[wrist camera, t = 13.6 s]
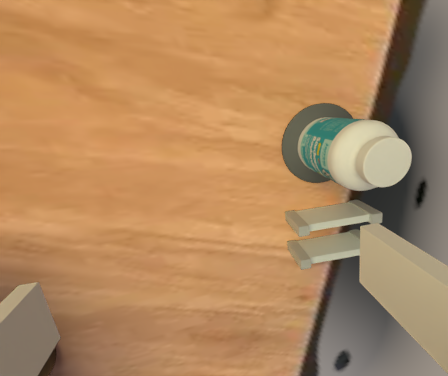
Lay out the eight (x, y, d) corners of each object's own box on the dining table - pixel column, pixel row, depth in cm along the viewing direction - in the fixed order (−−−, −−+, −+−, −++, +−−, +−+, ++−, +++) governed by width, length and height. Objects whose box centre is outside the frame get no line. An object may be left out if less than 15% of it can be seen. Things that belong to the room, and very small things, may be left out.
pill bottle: (287, 133, 36) (337, 145, 23) (335, 106, 36) (414, 104, 23) (307, 179, 38) (364, 214, 25) (354, 155, 38) (435, 177, 25)
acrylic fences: (287, 249, 42) (301, 269, 36) (285, 211, 40) (298, 227, 34) (357, 237, 42) (380, 255, 37) (357, 199, 40) (382, 212, 35)
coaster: (284, 187, 39) (285, 188, 38) (278, 109, 36) (279, 109, 35) (356, 175, 39) (358, 176, 39) (357, 98, 36) (359, 98, 36)
